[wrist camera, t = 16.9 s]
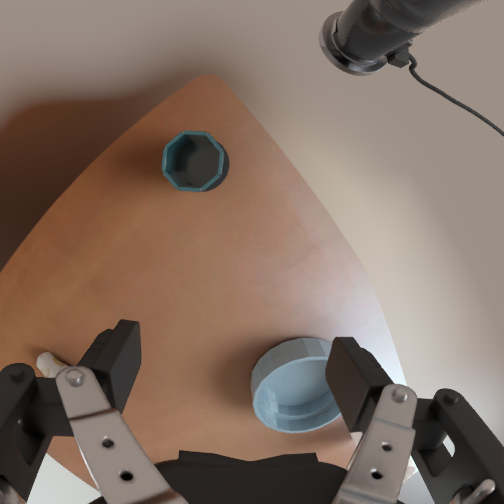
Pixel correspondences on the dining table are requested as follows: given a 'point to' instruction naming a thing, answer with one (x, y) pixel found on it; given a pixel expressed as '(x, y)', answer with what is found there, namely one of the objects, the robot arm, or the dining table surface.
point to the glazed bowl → (294, 387)
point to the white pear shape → (49, 365)
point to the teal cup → (193, 161)
